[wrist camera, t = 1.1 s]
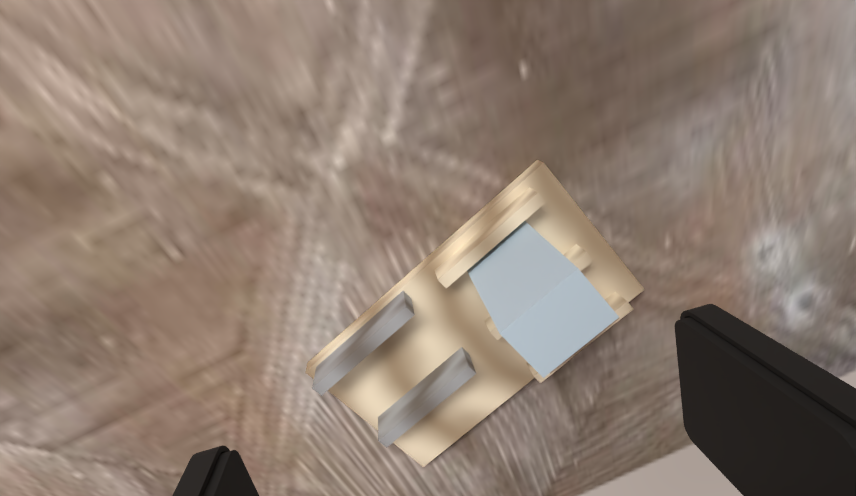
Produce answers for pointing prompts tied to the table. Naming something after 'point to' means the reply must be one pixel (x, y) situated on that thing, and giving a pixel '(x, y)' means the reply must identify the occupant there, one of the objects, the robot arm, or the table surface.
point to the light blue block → (539, 299)
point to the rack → (458, 325)
